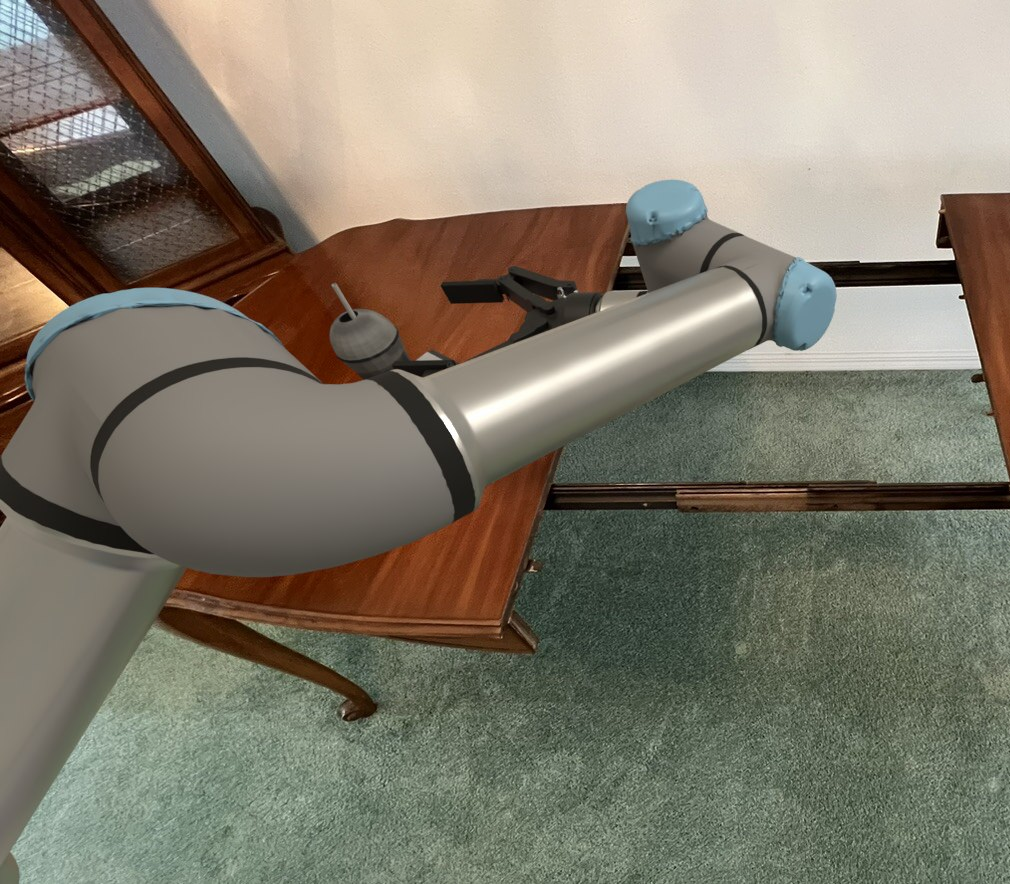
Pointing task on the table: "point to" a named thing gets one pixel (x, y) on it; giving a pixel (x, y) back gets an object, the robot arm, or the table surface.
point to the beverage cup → (366, 340)
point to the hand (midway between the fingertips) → (424, 330)
